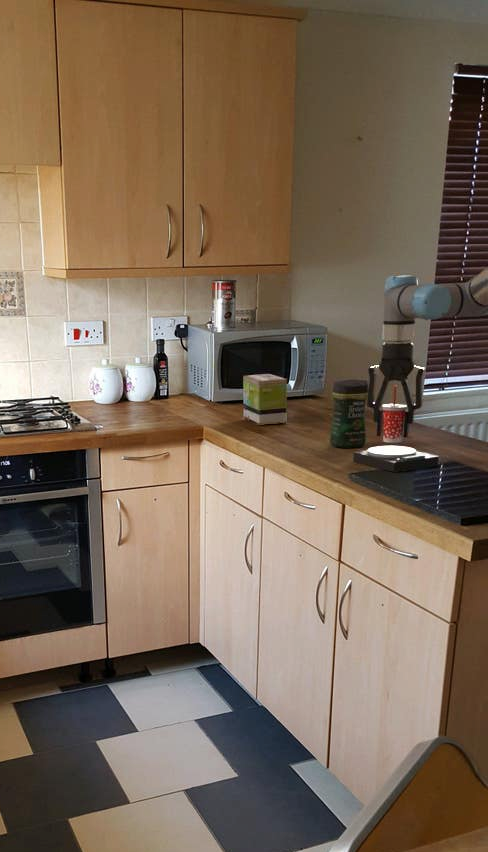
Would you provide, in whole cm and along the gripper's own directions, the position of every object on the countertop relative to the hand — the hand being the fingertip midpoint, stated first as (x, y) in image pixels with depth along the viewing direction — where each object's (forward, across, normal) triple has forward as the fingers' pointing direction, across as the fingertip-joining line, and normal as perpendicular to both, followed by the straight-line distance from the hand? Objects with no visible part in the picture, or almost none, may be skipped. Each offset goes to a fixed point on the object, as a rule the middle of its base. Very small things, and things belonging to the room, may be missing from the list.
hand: (392, 435), depth 222 cm
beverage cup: (+2, 0, 0) cm, 2 cm away
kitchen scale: (+7, -1, +1) cm, 7 cm away
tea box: (+7, +51, -53) cm, 74 cm away
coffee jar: (+7, +16, -20) cm, 26 cm away
